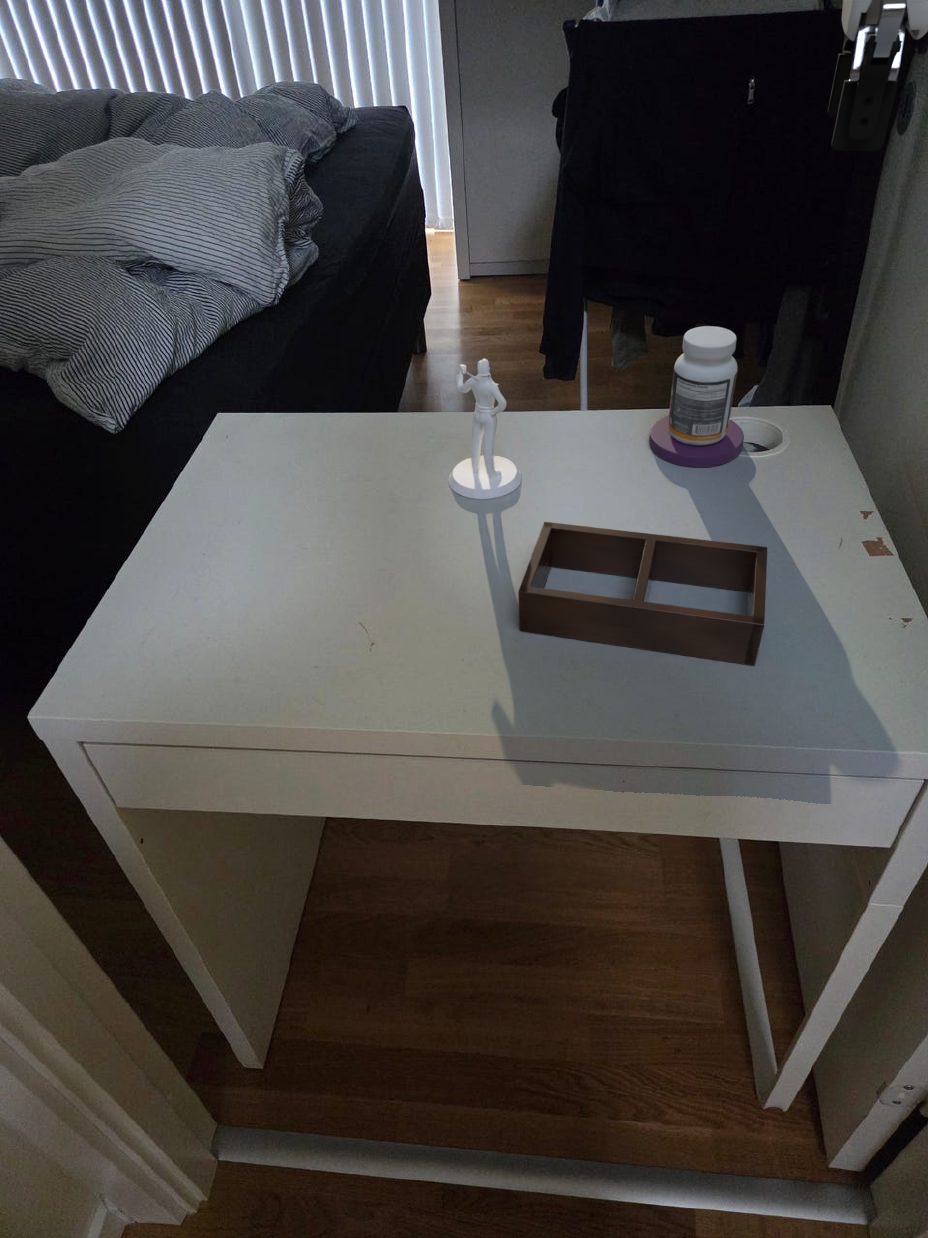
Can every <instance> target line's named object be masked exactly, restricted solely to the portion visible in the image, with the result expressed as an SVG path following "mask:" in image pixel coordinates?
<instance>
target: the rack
mask: <svg viewBox="0 0 928 1238" xmlns="http://www.w3.org/2000/svg"><path fill="white" fill-rule="evenodd" d="M768 550H769V549H768V547H767V546H761V545H753V544H752V545H751V544H743V543H735V542H727V541H718V540H709V539H699V538H691V537H683V536H673V535H665V534H657V533H656V534H655V533H648V532H647V533H646V532H638V531H629V530H622V529H621V530H620V529H611V528H604V527H603V528H602V527H595V526H594V527H593V526H587V525H577V524H576V525H575V524H568V523H561V522H560V523H559V522H550V521H543V524H542V526H541V529H540V532H539V534H538V537H537V540H536V543H535V546H534V548H533V551H532V553H531V556H530V559H529V561H528V565H527V567H526V569H525V573H524V575H523V578H522V580H521V583H520V586H519V589H518V591H517V595H518V596H517V597H518V630H519V632H523V633H524V632H525V633H530V634H536V635H544V636H552V637H558V638H564V639H572V640H578V641H584V642H591V643H598V644H605V645H612V646H618V647H619V646H620V647H624V648H631V649H640V650H644V651H645V650H646V651H653V652H659V653H665V654H673V655H678V656H687V657H692V658H693V657H694V658H699V659H706V660H714V661H719V662H725V663H733V664H739V665H740V664H741V665H746V666H752V667H754V666H756V662H757V658H758V656H759V649H760V646H761V641H762V639H763V638H762V637H763V633H764V629H765V623H766V622H765V619H766V599H767V598H766V596H767V572H768V571H767V570H768V569H767V568H768ZM552 568H556V569H564V570H573V571H580V572H588V573H596V574H605V575H612V576H619V577H627V578H634V579H637V580H636V583H635V588H634V593H633V597H632V599H626V598H620V597H613V596H612V597H610V596H603V595H596V594H589V593H582V592H581V593H580V592H574V591H566V590H561V589H560V590H559V589H551V588H545V587H546V584H547V581H548V578H549V575H550V572H551V569H552ZM652 581H659V582H667V583H674V584H682V585H691V586H700V587H707V588H713V589H724V590H730V591H737V592H747V602H746V615H745V614H738V613H730V612H724V611H714V610H710V609H709V610H708V609H701V608H694V607H686V606H678V605H672V604H664V603H656V602H648V601H649V596H650V591H651V586H652Z"/></svg>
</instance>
